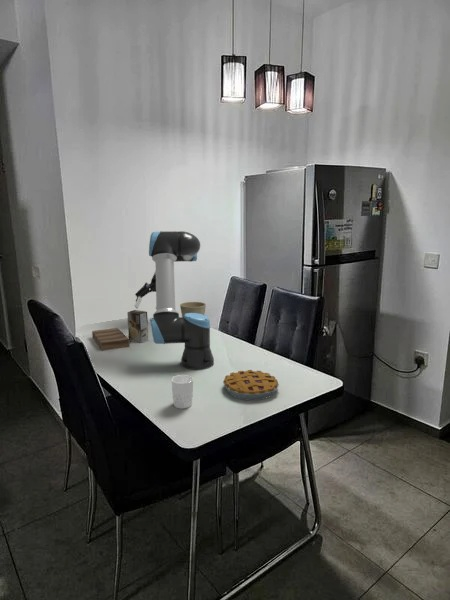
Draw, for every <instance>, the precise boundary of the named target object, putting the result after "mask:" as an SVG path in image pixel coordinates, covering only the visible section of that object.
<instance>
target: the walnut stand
mask: <svg viewBox="0 0 450 600" xmlns="http://www.w3.org/2000/svg"><path fill="white" fill-rule="evenodd" d="M91 333H92V335H91V336H92V339H93V341H94V342H95V343H96V345H97V346H98V347H99V349H100V350H101V351H102V352H103V351H109V350H116V349H123V348H129V347H130V341H129V337H128V336H127V335H126V334H124V333H123V331H122V330H120V329H119V328H118V327H113V328H105V329H97V330H92V332H91Z"/></svg>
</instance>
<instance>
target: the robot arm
mask: <svg viewBox="0 0 450 600" xmlns="http://www.w3.org/2000/svg"><path fill="white" fill-rule="evenodd" d="M149 237H150V238H149V245H148V246H149V247H148V255H149V257H151V259H152V261H153V262H154V264H155V271H154V273H153V275H152V278H151V279H150V283H148V282H145V283H144V285H143V286H142V287H141V288H140V289H139V290H138V291H137V292H136V293H135V294H134V295H135V297H136V299H135V304H134V307H135V308H136V310H138V309H139V307H140V304H141V302H142V298H144V297H145V296H146V295H148V294H149V293H154V292H155V297H156V299H155V300H156V302H155V303H156V306H155V310H156V311H154V312H153V314H152V317H151V318H150V319H149V321H150V328H151V333H152V340H153V342H154V343H155V344H156V345H157V344H158V345H161V344H162V345H168V344H184V349H183V351H182V355H181V359H180V365H181V366H182V367H184V369H185V368H186V369H189V370H190V369H191V370H204V369H208V368H211V367H213V365H214V364H215V360H214V355H213V353H212V349H211V323H210V322H211V321H210V318H209V317H208V316H207V315H205V314H204V315H203V314H198V313H186V314H185V315H184V317H182V316H181V317H180V313H179V312H178V311H177V310H176V293H175V292H176V291H175V262H178V263H179V262H190V263H192V262H197V260H198V253H199V252H200V250H201V241H200V240H199V238H198V237H197V236H195V234H193V233H191V232H187V231H183V230H182V231H181V230H180V231H176V230H175V231H163V230H162V231H161V230H160V231H153V232H151V234H150V236H149Z"/></svg>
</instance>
